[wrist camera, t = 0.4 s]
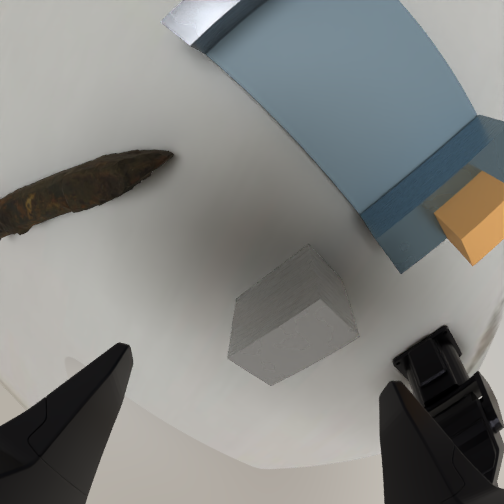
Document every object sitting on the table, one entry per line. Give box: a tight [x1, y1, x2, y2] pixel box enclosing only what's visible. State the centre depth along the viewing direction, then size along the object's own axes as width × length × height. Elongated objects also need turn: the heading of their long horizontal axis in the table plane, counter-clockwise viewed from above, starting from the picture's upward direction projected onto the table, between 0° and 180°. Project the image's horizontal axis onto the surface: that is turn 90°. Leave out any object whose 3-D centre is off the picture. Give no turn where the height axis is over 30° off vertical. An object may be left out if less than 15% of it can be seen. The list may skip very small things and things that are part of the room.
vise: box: [161, 0, 477, 215], centre depth 13 cm, size 19×11×4 cm, turn 44°
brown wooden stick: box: [0, 150, 174, 240], centre depth 17 cm, size 19×4×5 cm, turn 99°
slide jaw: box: [360, 115, 504, 274], centre depth 13 cm, size 3×11×6 cm, turn 134°
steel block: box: [228, 244, 360, 386], centre depth 20 cm, size 4×7×6 cm, turn 134°
